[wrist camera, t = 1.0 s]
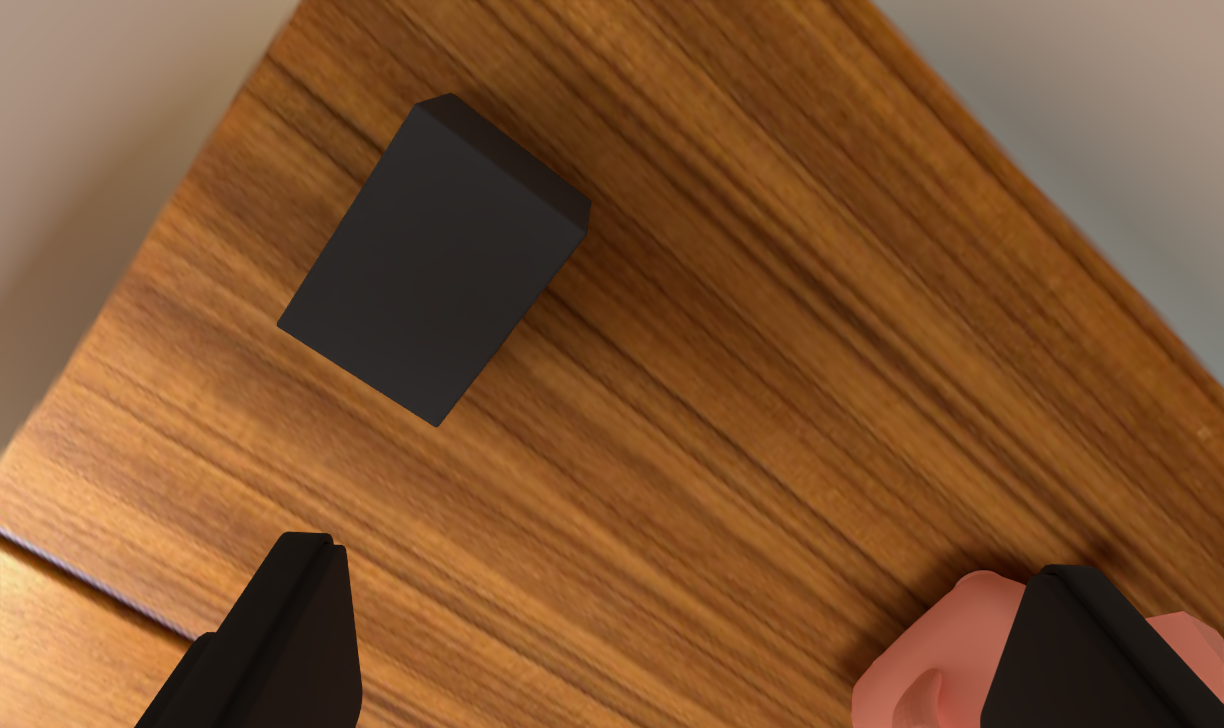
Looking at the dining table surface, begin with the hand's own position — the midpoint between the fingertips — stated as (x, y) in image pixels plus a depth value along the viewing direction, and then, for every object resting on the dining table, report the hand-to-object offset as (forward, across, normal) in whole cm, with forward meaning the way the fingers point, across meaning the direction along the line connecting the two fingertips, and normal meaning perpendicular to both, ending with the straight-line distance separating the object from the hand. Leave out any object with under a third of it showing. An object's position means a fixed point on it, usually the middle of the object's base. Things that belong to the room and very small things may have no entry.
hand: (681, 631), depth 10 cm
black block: (+14, +6, -2) cm, 15 cm away
